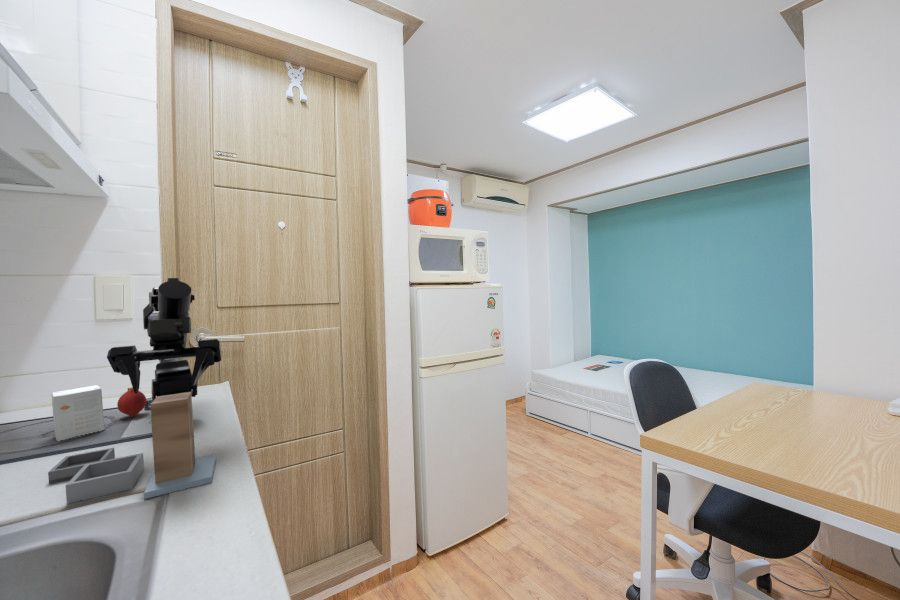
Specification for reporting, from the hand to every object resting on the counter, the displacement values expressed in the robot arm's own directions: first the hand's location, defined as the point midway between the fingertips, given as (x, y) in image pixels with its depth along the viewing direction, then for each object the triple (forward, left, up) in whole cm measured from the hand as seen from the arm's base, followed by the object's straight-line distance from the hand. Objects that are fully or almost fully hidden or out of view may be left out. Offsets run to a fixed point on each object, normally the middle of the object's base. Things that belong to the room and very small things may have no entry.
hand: (165, 388), depth 72 cm
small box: (-26, -21, -14) cm, 37 cm away
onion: (-34, -13, -14) cm, 39 cm away
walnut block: (+13, +3, -13) cm, 18 cm away
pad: (+13, +4, -14) cm, 19 cm away
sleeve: (+9, -7, -14) cm, 18 cm away
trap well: (-1, -13, -14) cm, 19 cm away
